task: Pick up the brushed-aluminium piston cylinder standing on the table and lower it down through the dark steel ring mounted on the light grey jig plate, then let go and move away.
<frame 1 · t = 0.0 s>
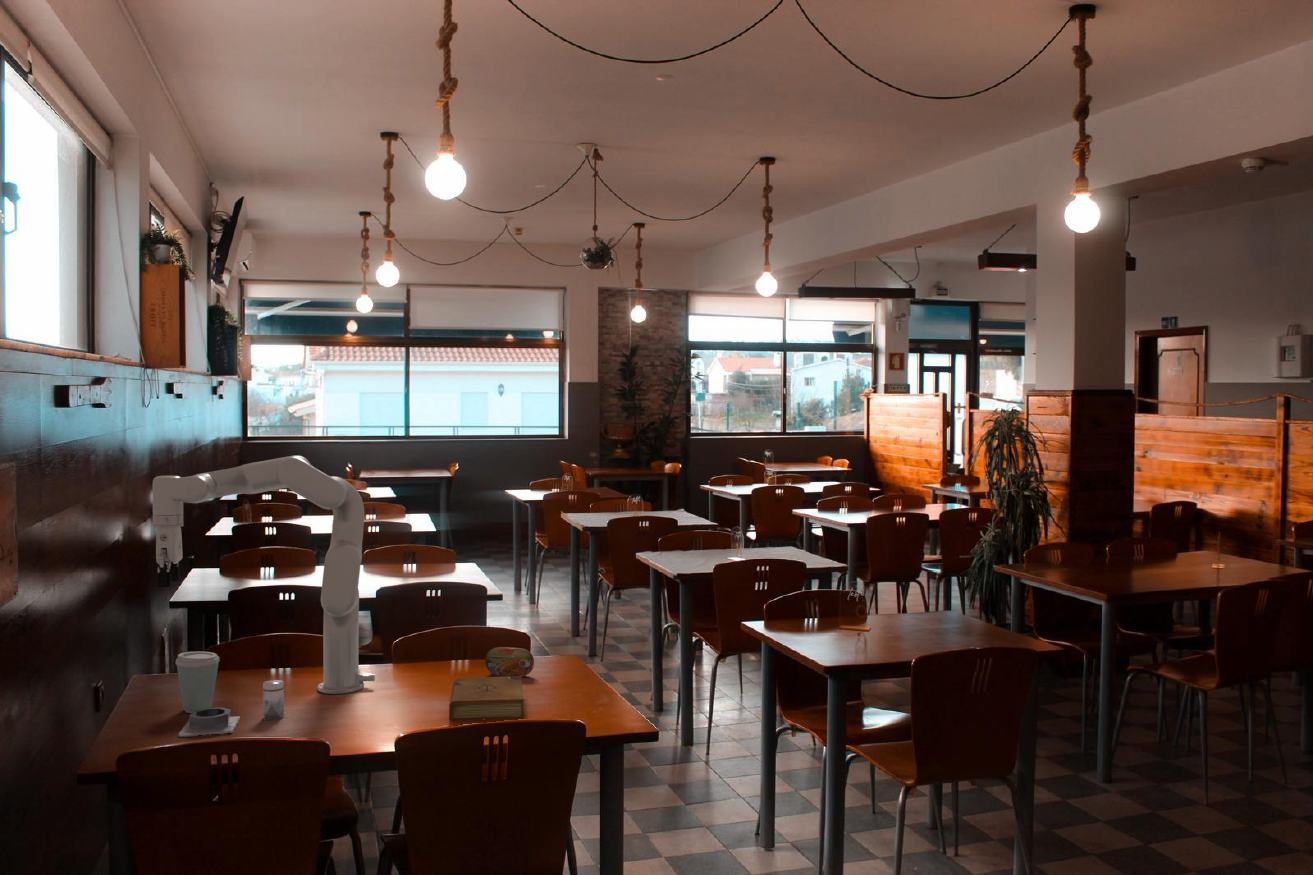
hand: (168, 583, 282), 31 cm above the table, tool pointing down, fingers open, 9 cm apart
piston: (273, 717, 266), on the table
diary: (487, 709, 276), on the table
tin: (510, 676, 309), on the table
ring jig: (210, 727, 257), on the table
disposable coffee cup: (198, 710, 272), on the table
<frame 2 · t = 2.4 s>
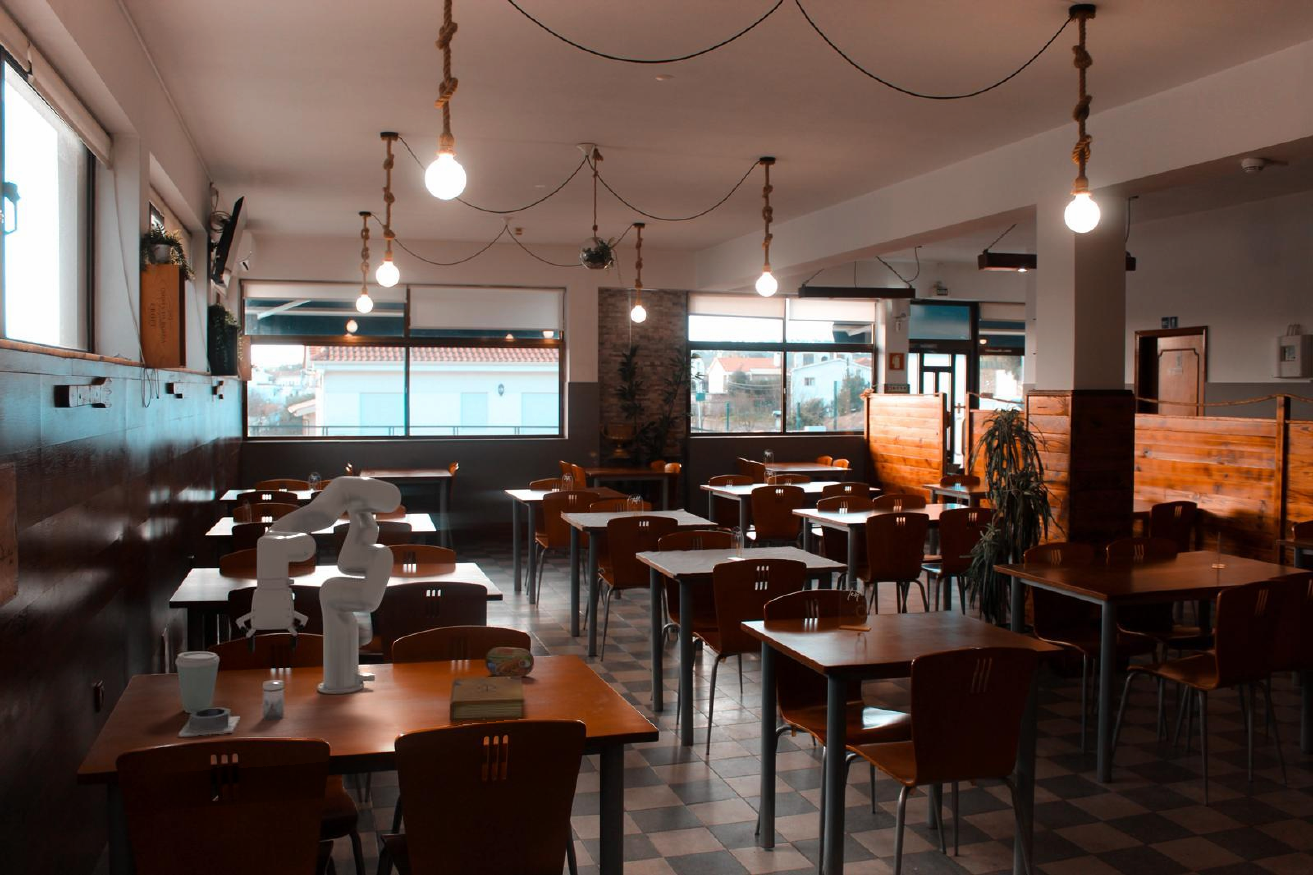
hand: (272, 651, 265), 17 cm above the table, tool pointing down, fingers open, 9 cm apart
nothing on the table moved.
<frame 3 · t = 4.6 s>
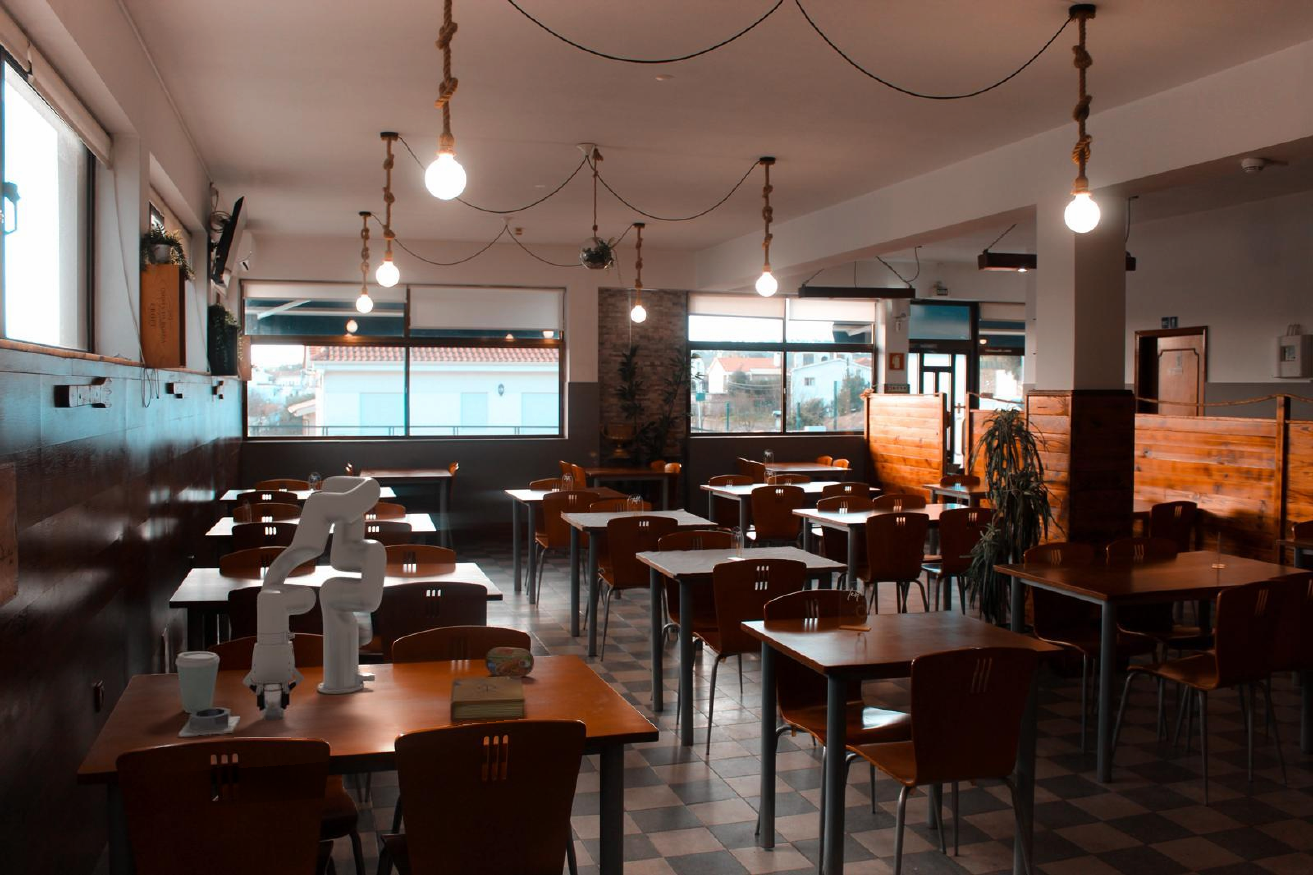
hand: (273, 708, 266), 2 cm above the table, tool pointing down, fingers closed on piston, 5 cm apart
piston: (273, 717, 266), on the table, touching gripper
everything else where it was.
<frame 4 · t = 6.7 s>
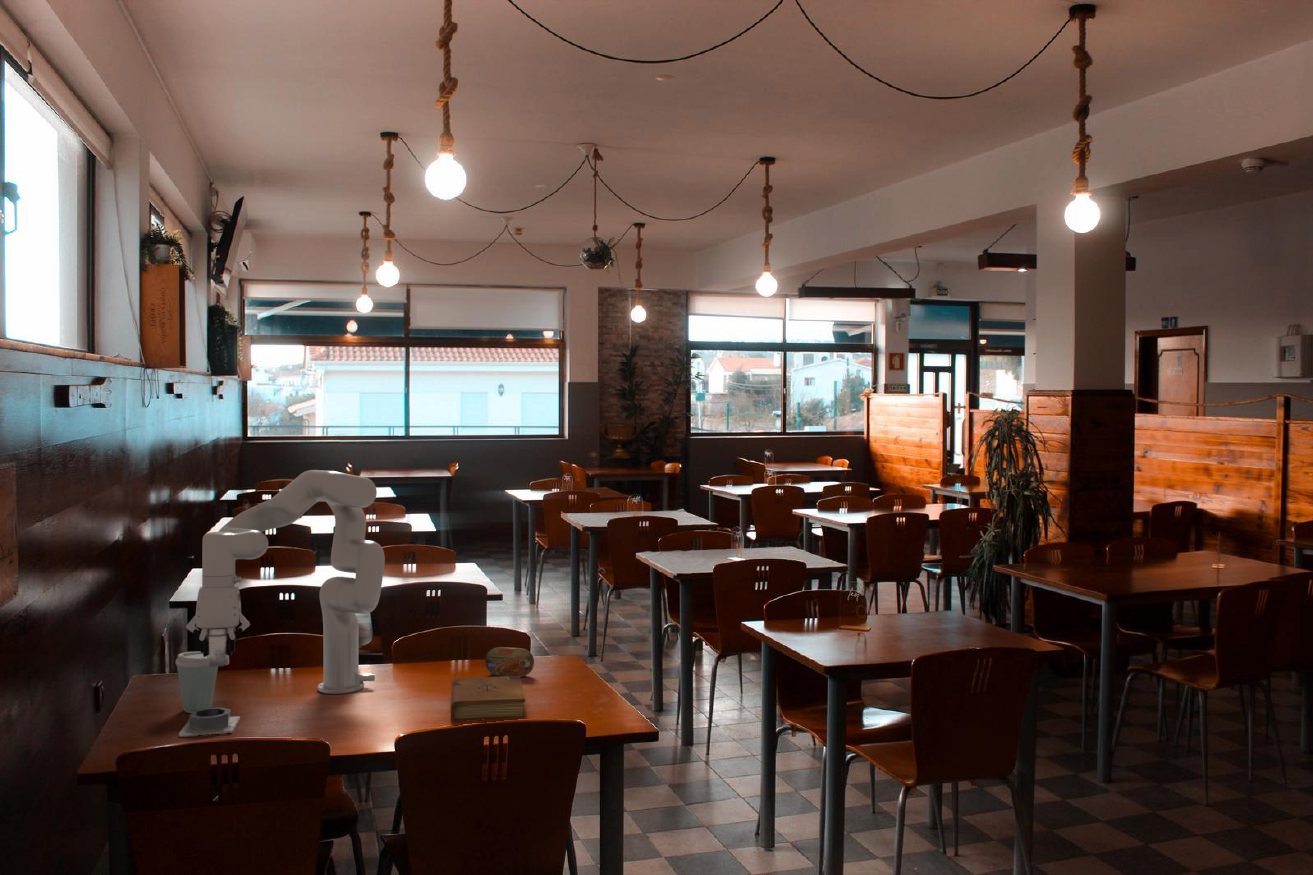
hand: (218, 654, 257), 18 cm above the table, tool pointing down, fingers closed on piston, 5 cm apart
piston: (218, 664, 257), point 16 cm above the table, touching gripper
everything else where it was.
when the fingers open (5 cm above the table, at t = 9.1 s): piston drops 2 cm, resting on ring jig.
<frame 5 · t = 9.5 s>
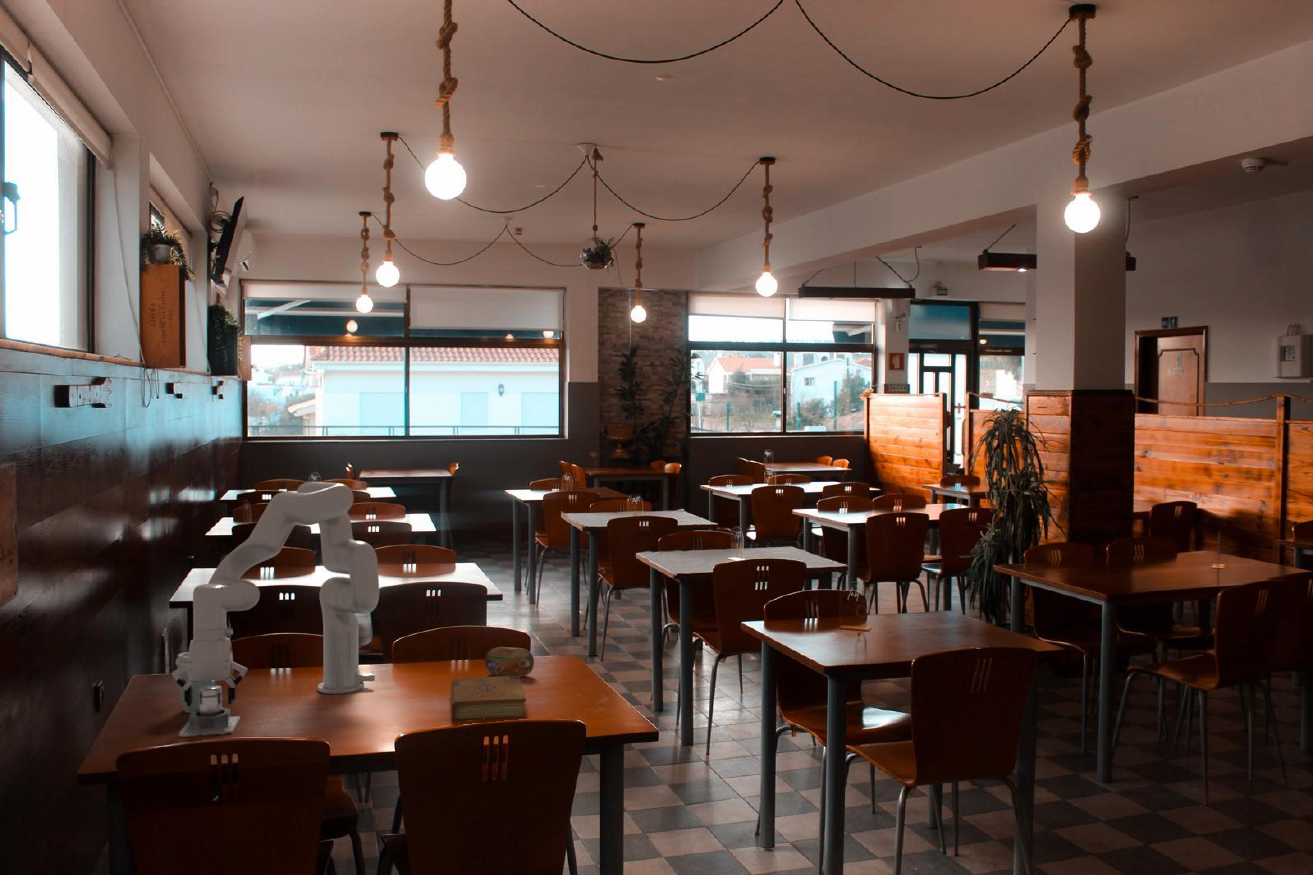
hand: (210, 703, 256), 6 cm above the table, tool pointing down, fingers open, 9 cm apart
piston: (210, 724, 257), point 1 cm above the table, touching ring jig
everything else where it was.
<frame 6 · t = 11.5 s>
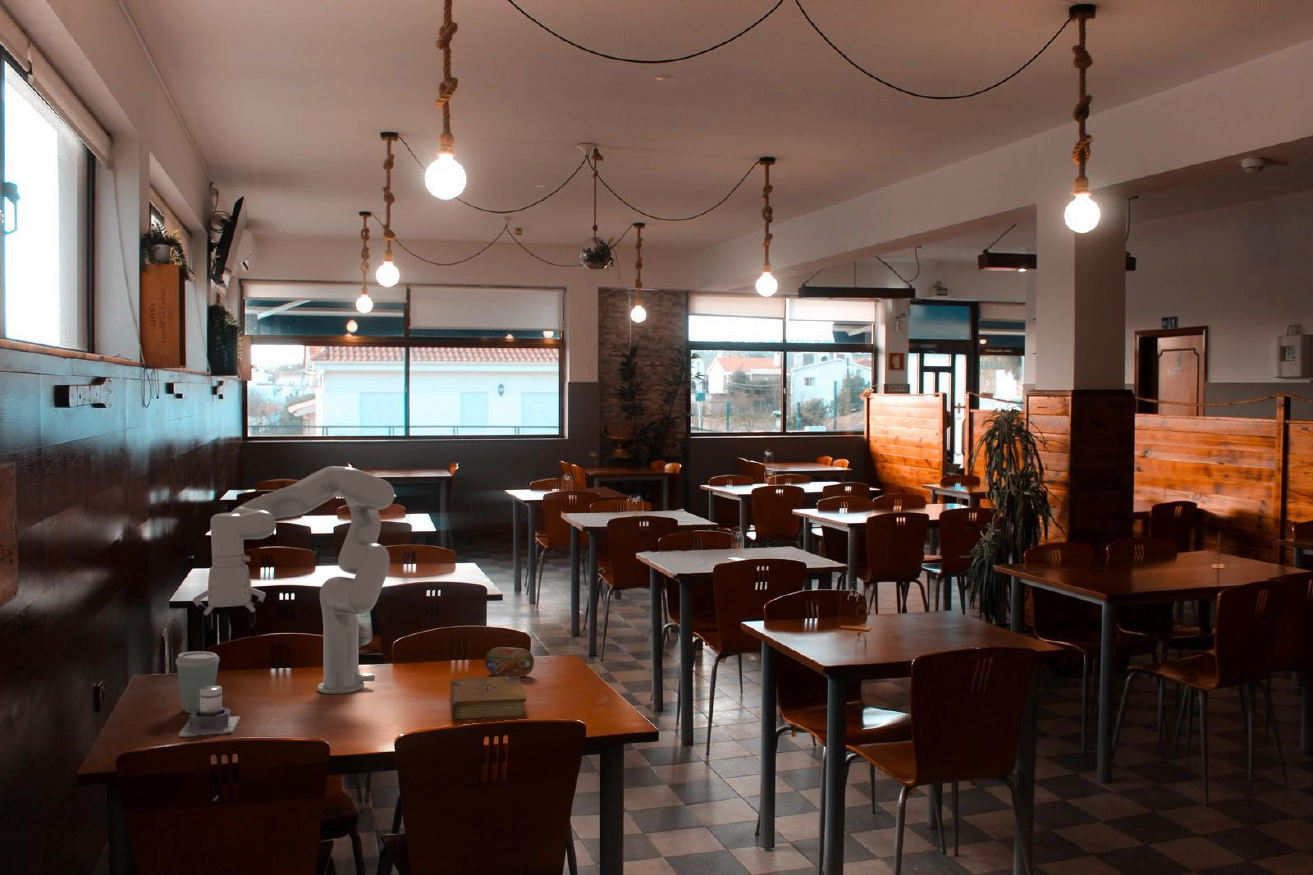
hand: (231, 627, 266), 23 cm above the table, tool pointing down, fingers open, 9 cm apart
nothing on the table moved.
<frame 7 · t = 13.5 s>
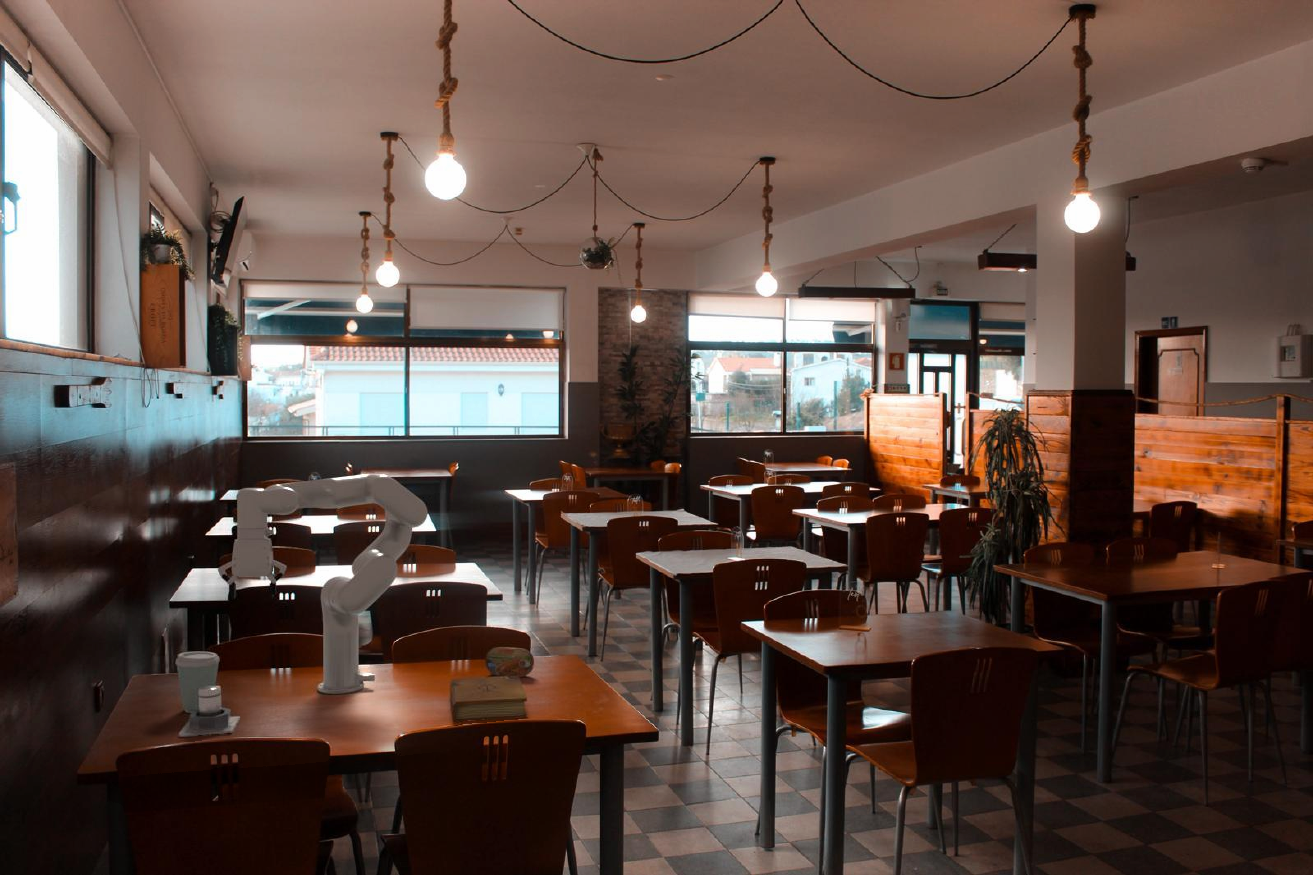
hand: (252, 598, 278), 28 cm above the table, tool pointing down, fingers open, 9 cm apart
nothing on the table moved.
at the end: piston 0.1 cm from the ring jig (horizontally); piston point 0.9 cm above the table; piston tilted 1° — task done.
